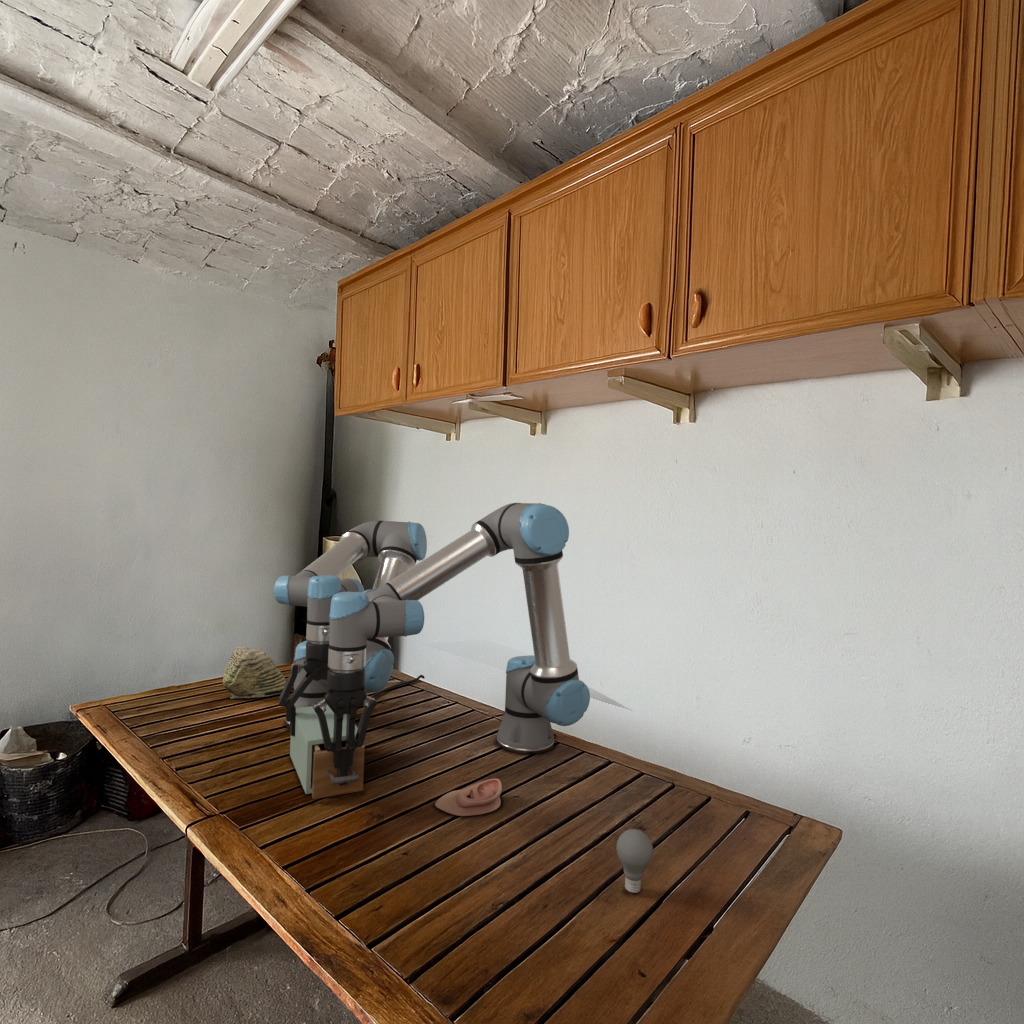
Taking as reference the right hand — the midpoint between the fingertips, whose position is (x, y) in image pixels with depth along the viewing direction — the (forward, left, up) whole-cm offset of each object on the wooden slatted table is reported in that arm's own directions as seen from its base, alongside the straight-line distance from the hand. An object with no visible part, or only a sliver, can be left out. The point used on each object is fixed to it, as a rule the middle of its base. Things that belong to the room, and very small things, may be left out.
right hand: (342, 782), depth 130 cm
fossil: (+13, -80, -5) cm, 82 cm away
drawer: (+1, -10, -4) cm, 11 cm away
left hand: (+1, -25, +2) cm, 25 cm away
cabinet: (+1, -19, -5) cm, 19 cm away
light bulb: (-40, +45, -5) cm, 61 cm away
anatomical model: (-25, +8, -5) cm, 27 cm away
